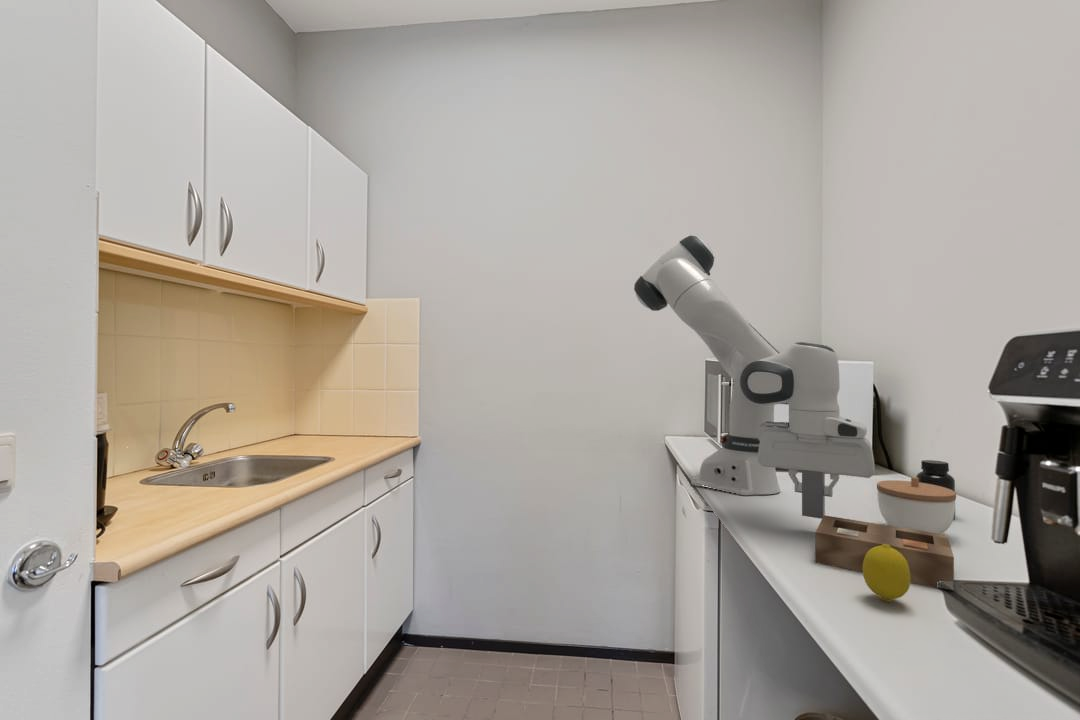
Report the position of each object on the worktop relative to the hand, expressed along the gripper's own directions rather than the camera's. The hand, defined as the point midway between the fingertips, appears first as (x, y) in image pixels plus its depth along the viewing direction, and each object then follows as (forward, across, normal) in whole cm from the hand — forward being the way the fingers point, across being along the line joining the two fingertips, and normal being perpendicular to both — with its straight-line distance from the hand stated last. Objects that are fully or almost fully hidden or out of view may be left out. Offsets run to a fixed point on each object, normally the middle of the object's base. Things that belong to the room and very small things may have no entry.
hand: (813, 494), depth 99 cm
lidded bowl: (+8, +17, +12) cm, 22 cm away
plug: (+4, 0, 0) cm, 4 cm away
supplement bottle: (+8, +21, +30) cm, 38 cm away
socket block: (+8, +11, -11) cm, 17 cm away
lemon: (+8, +12, -27) cm, 30 cm away
